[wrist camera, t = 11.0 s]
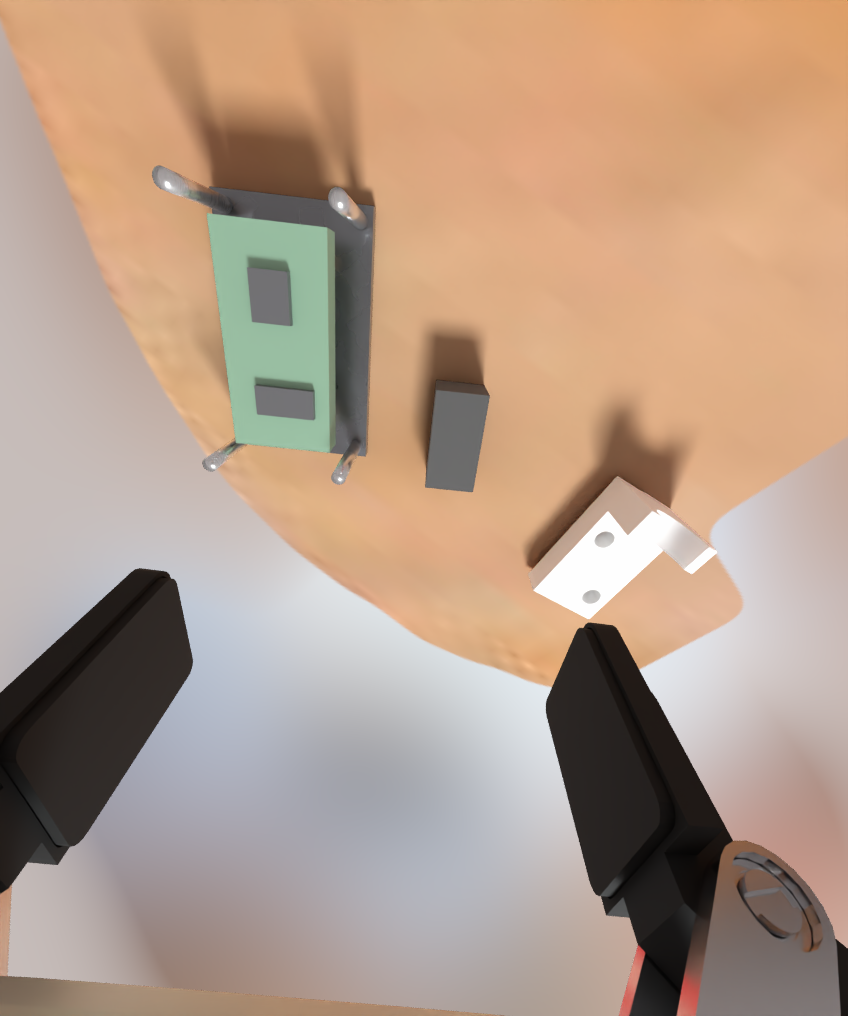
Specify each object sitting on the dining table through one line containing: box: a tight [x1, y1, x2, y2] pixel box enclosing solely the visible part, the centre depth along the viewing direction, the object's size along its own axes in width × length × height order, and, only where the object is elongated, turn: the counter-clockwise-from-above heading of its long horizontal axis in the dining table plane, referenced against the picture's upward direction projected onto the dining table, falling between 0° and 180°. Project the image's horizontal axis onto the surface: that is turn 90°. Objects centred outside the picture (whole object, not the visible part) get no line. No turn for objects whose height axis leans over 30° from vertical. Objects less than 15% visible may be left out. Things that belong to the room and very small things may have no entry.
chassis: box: [152, 166, 376, 484], centre depth 28 cm, size 18×11×8 cm, turn 174°
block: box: [425, 380, 490, 492], centre depth 33 cm, size 8×4×4 cm, turn 174°
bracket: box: [528, 476, 717, 619], centre depth 37 cm, size 13×7×8 cm, turn 149°
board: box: [207, 213, 336, 453], centre depth 27 cm, size 14×7×3 cm, turn 174°
